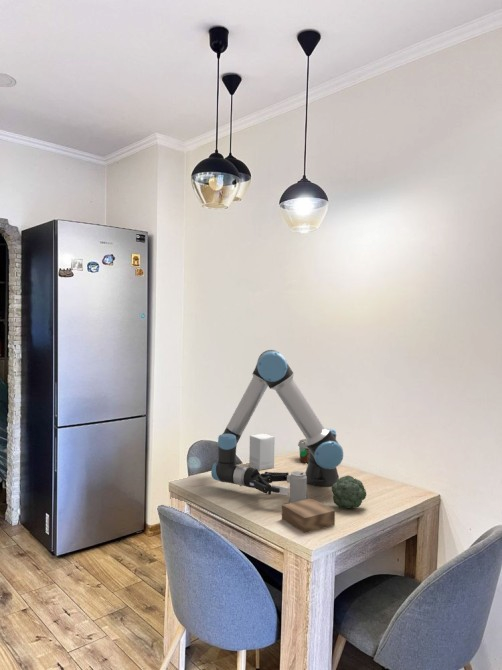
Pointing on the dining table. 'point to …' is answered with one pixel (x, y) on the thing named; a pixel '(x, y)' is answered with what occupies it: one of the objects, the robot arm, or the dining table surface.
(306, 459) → the food container
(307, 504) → the walnut block
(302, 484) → the beverage can
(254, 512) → the dining table surface
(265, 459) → the supplement box
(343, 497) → the vegetable
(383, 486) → the dining table surface
